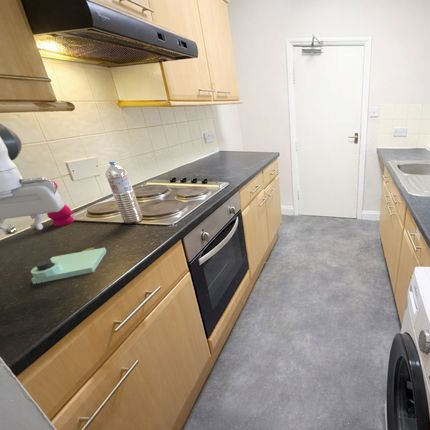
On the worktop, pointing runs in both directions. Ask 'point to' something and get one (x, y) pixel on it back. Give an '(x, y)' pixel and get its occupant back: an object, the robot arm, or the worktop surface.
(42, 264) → the tare button
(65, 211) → the pepper mill
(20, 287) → the worktop surface
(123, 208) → the water bottle
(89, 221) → the worktop surface
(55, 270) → the scale
